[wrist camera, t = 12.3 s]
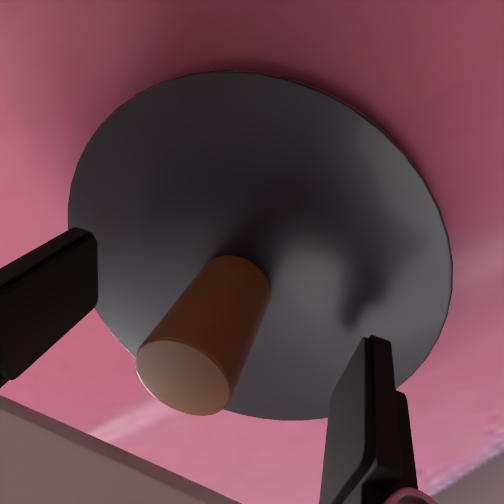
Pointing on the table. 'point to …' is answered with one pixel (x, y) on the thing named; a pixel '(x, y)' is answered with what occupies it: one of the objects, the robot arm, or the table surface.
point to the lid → (258, 242)
